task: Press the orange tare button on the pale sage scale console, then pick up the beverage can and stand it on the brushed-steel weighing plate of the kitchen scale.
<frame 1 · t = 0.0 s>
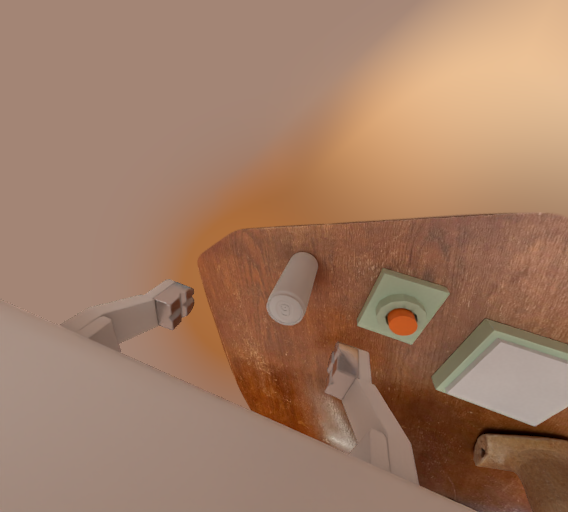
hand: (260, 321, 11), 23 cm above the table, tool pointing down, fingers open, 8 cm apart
scale: (505, 367, 34), on the table
tan stone pipe: (519, 439, 40), on the table
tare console: (397, 304, 34), on the table
beverage can: (304, 263, 36), on the table
tare button: (401, 321, 31), point 4 cm above the table, slide at 0.1 cm
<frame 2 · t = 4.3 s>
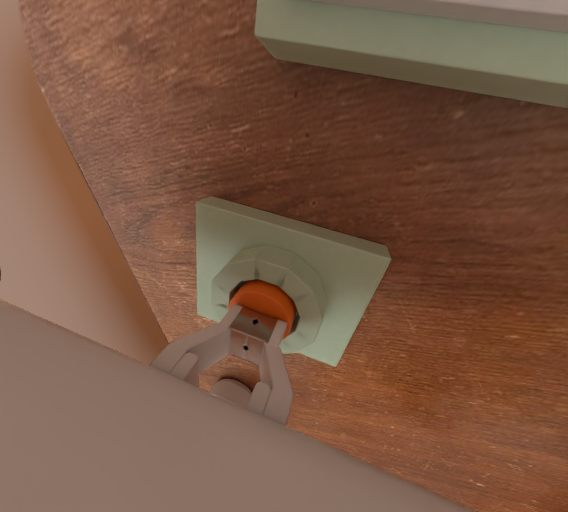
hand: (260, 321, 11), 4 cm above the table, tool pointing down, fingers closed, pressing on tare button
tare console: (280, 278, 15), on the table
beverage can: (237, 389, 23), on the table
tare button: (263, 309, 12), point 3 cm above the table, slide at -0.6 cm, touching gripper
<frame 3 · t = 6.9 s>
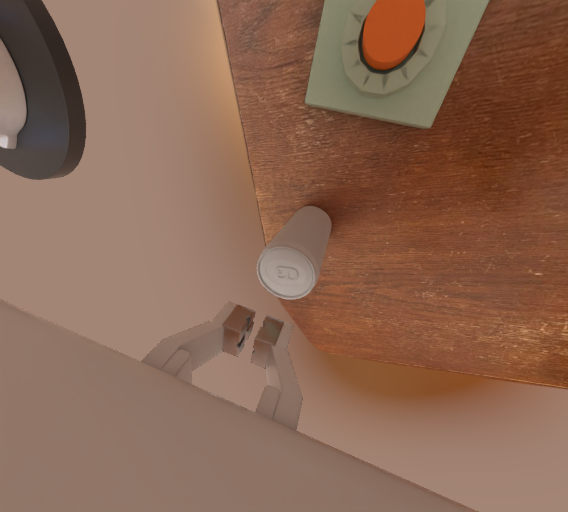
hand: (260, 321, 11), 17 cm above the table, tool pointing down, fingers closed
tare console: (384, 54, 18), on the table
beverage can: (312, 223, 26), on the table
tare button: (391, 32, 14), point 4 cm above the table, slide at 0.1 cm
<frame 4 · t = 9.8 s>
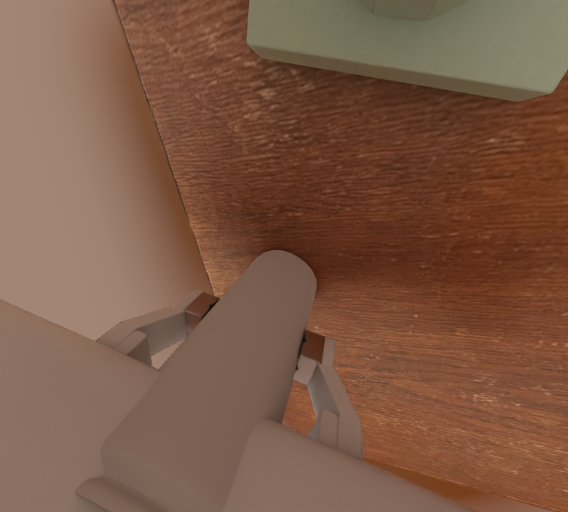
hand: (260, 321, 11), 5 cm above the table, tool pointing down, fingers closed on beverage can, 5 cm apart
beverage can: (285, 275, 15), on the table, touching gripper
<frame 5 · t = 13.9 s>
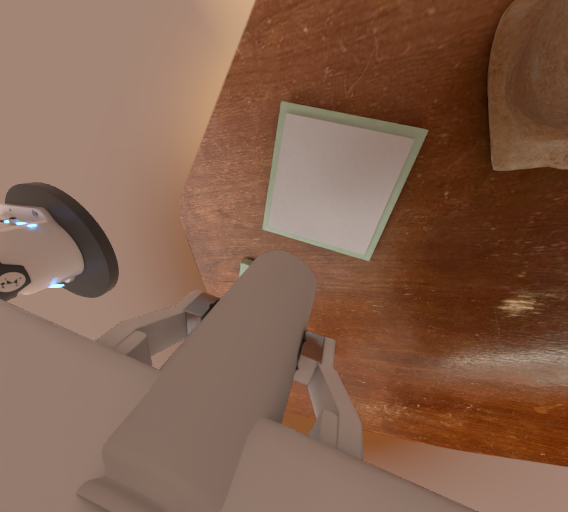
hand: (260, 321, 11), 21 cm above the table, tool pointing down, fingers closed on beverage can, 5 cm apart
scale: (331, 186, 27), on the table
tan stone pipe: (534, 91, 19), on the table
beverage can: (285, 276, 15), point 16 cm above the table, touching gripper
when the fingers open (8 cm above the table, at t = 18.3 s): beverage can stays where it is, resting on scale.
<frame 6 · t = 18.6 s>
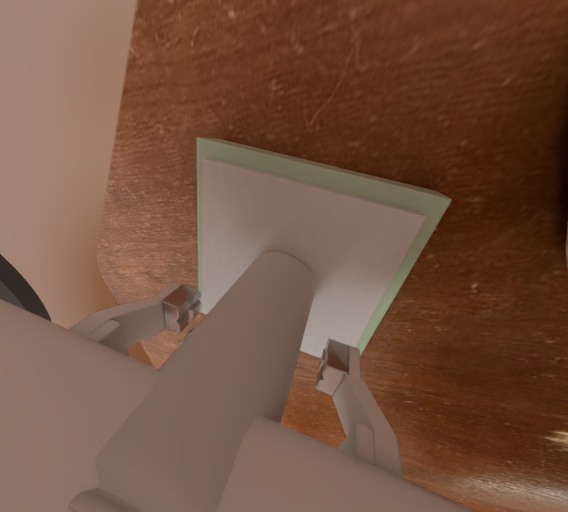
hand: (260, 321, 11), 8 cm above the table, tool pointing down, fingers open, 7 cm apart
scale: (294, 258, 18), on the table
beverage can: (283, 277, 15), point 3 cm above the table, touching scale
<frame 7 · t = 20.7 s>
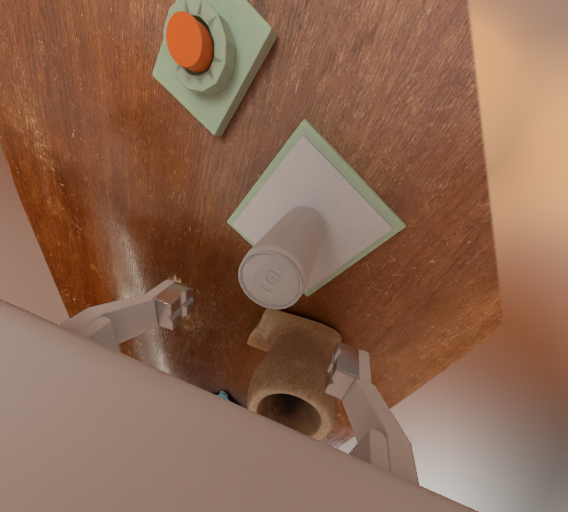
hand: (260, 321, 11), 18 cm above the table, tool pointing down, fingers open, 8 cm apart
scale: (309, 218, 27), on the table
tan stone pipe: (298, 327, 36), on the table
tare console: (214, 59, 23), on the table
beverage can: (304, 225, 25), point 3 cm above the table, touching scale
tare button: (190, 44, 19), point 4 cm above the table, slide at 0.1 cm
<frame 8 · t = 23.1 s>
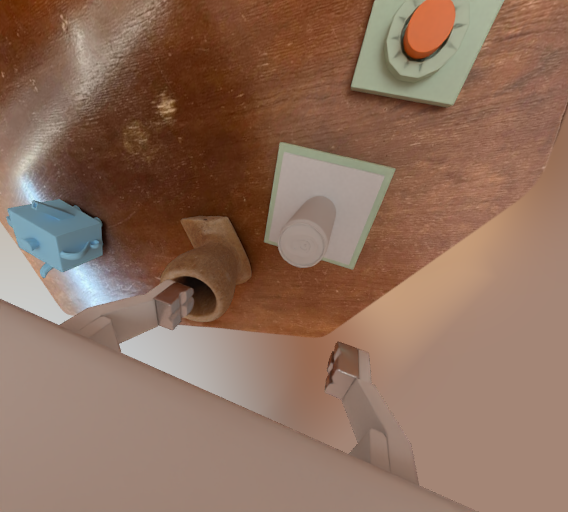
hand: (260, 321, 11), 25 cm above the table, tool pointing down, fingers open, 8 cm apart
teapot: (88, 227, 50), on the table
scale: (321, 207, 33), on the table
tan stone pipe: (229, 246, 41), on the table
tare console: (416, 47, 23), on the table
beverage can: (319, 211, 30), point 3 cm above the table, touching scale
tare button: (427, 29, 19), point 4 cm above the table, slide at 0.1 cm
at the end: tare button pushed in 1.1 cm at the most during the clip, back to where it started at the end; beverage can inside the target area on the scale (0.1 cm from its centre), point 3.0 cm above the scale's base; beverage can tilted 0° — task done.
